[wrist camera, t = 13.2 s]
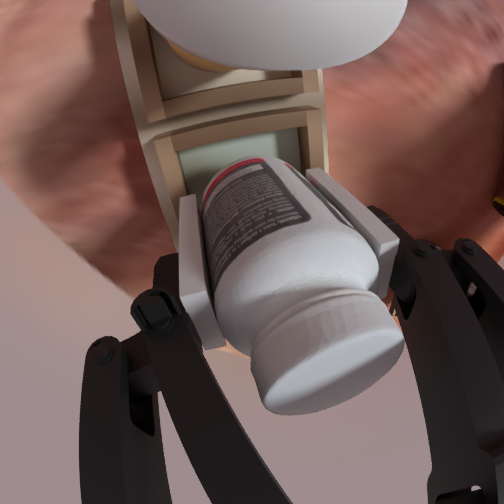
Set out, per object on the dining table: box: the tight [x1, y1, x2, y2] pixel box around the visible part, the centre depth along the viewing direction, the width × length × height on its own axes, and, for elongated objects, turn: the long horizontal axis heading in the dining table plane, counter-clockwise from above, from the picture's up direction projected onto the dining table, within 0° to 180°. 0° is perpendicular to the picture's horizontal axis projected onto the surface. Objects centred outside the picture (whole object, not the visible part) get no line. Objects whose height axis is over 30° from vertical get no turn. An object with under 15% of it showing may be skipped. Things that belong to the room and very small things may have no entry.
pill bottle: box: [201, 155, 404, 415], centre depth 10 cm, size 5×5×10 cm
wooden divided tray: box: [109, 0, 329, 253], centre depth 13 cm, size 18×10×3 cm, turn 8°
